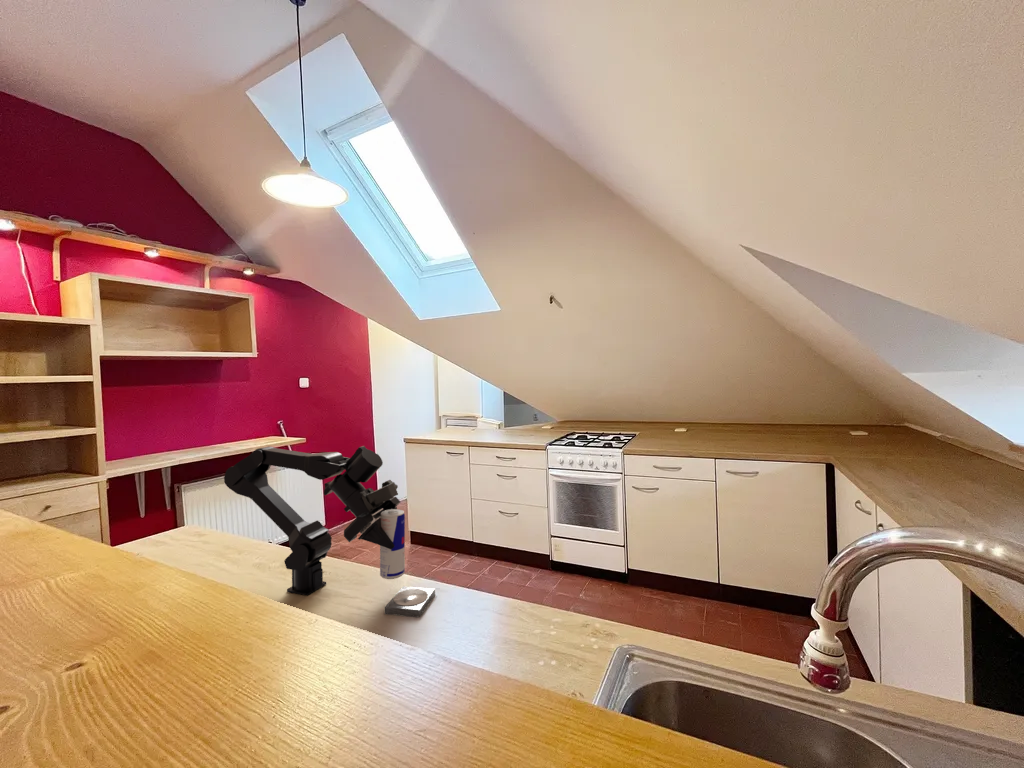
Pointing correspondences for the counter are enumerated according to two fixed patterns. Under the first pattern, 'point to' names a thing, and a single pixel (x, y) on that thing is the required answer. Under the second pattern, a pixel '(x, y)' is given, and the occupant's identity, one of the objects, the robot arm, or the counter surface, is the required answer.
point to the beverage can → (395, 529)
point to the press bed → (410, 601)
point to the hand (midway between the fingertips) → (397, 543)
